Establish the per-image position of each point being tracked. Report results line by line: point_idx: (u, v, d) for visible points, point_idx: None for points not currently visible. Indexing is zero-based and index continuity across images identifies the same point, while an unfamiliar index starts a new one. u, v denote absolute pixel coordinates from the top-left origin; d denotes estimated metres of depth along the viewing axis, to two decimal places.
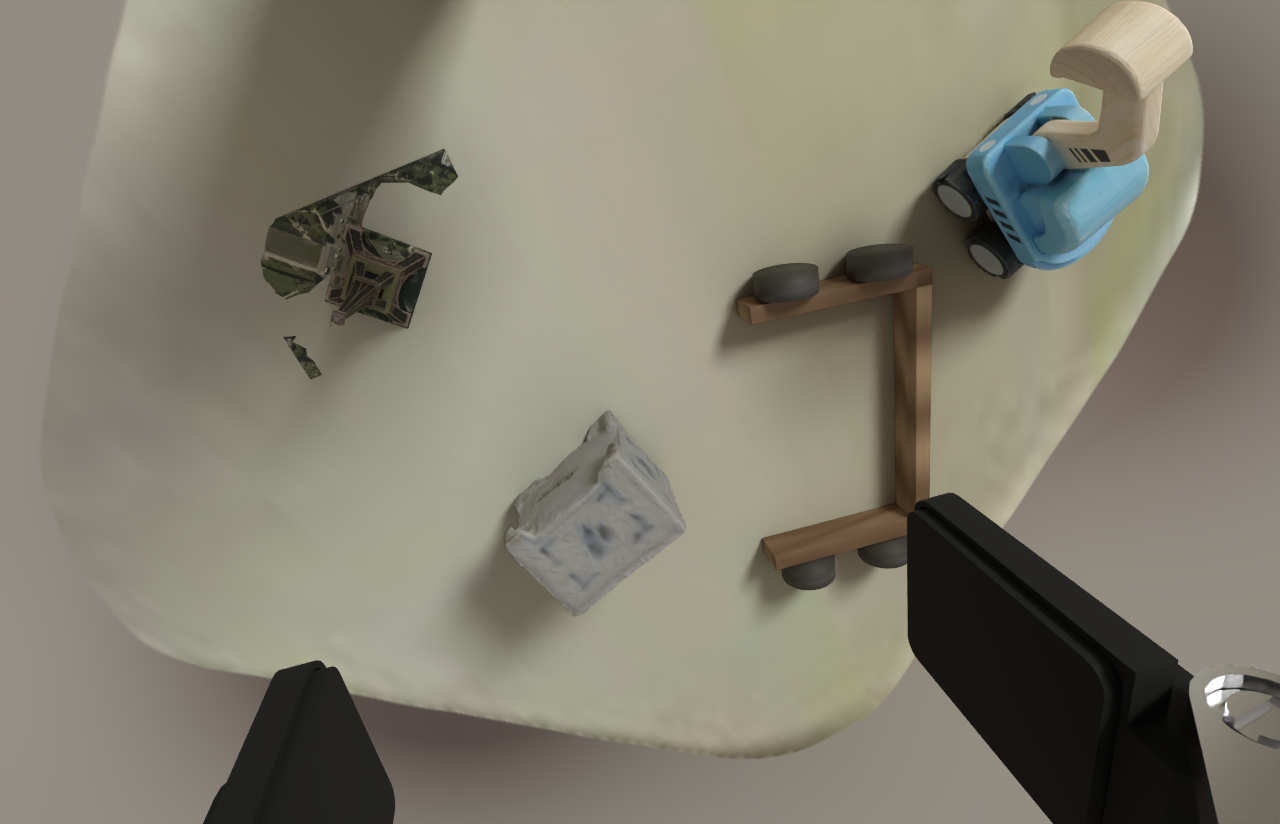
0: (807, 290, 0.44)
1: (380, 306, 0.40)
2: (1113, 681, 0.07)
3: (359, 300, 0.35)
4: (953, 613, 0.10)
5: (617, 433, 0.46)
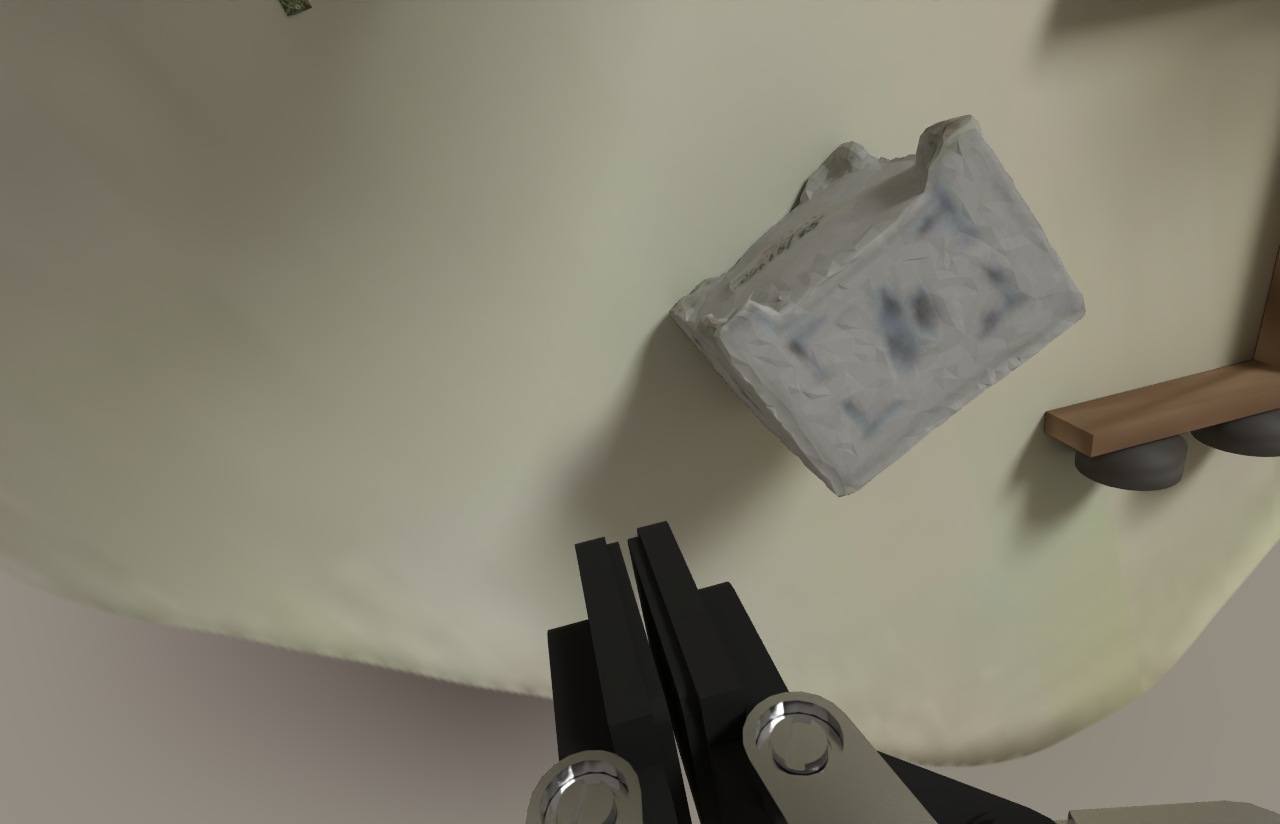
0: None
1: None
2: (692, 706, 0.08)
3: None
4: (652, 636, 0.10)
5: (885, 162, 0.24)
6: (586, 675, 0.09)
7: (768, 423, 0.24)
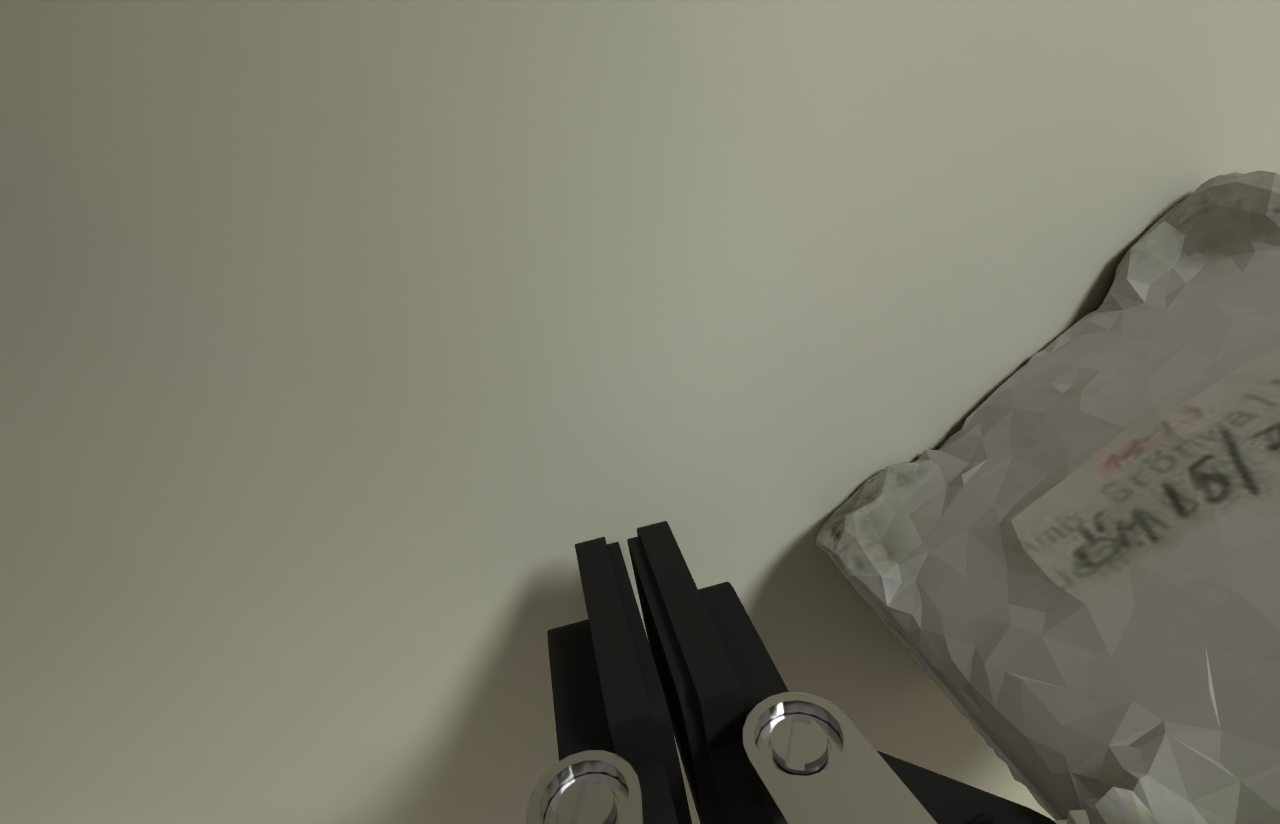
0: None
1: None
2: (692, 706, 0.08)
3: None
4: (652, 636, 0.10)
5: None
6: (585, 675, 0.09)
7: None
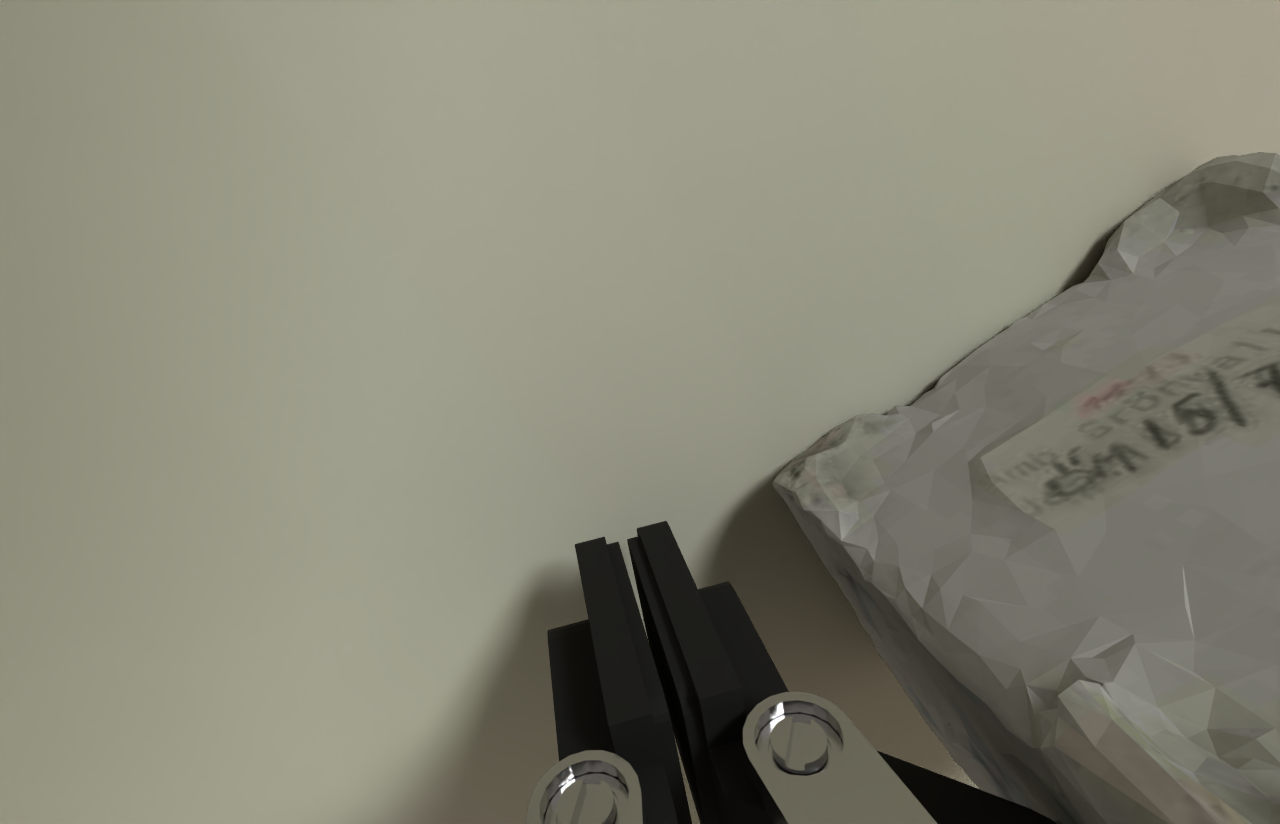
0: None
1: None
2: (692, 706, 0.08)
3: None
4: (652, 635, 0.10)
5: None
6: (585, 674, 0.09)
7: None
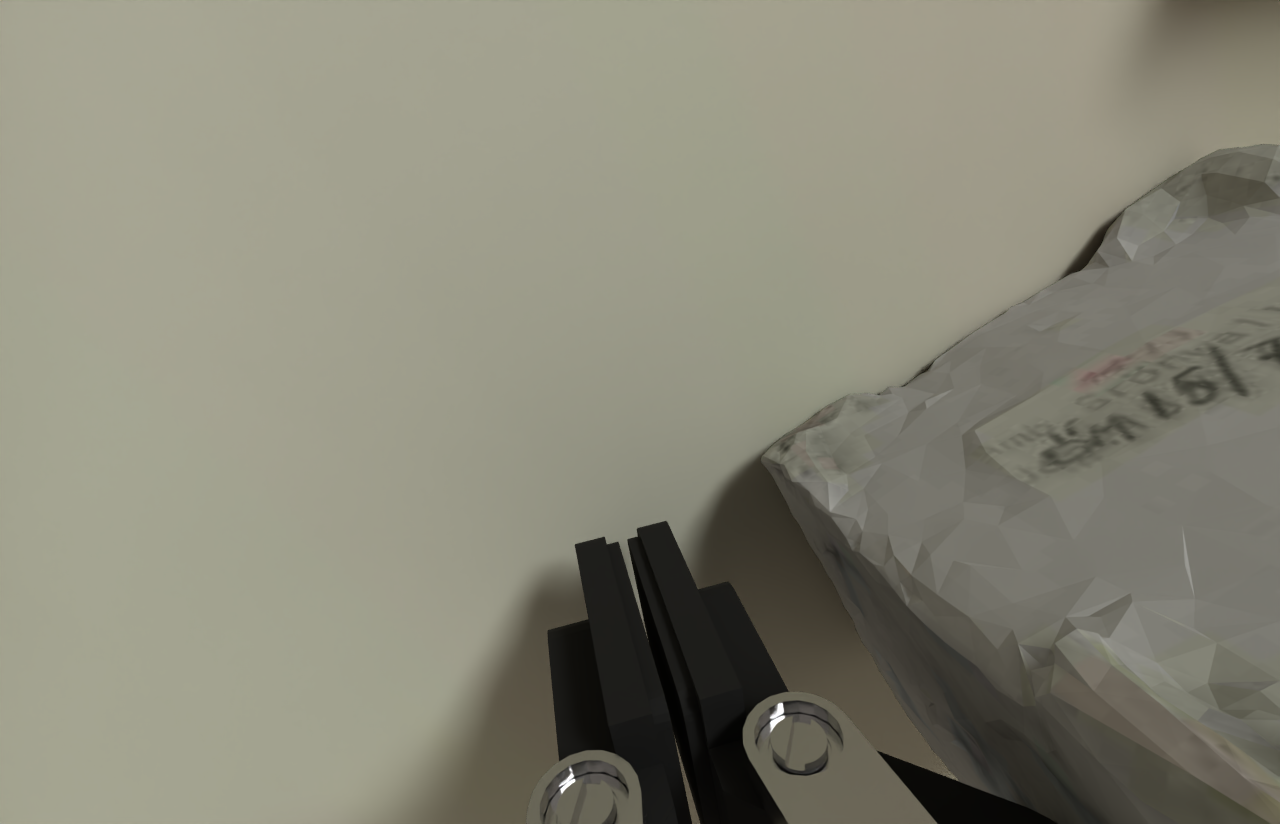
0: None
1: None
2: (693, 706, 0.08)
3: None
4: (652, 636, 0.10)
5: None
6: (585, 675, 0.09)
7: None
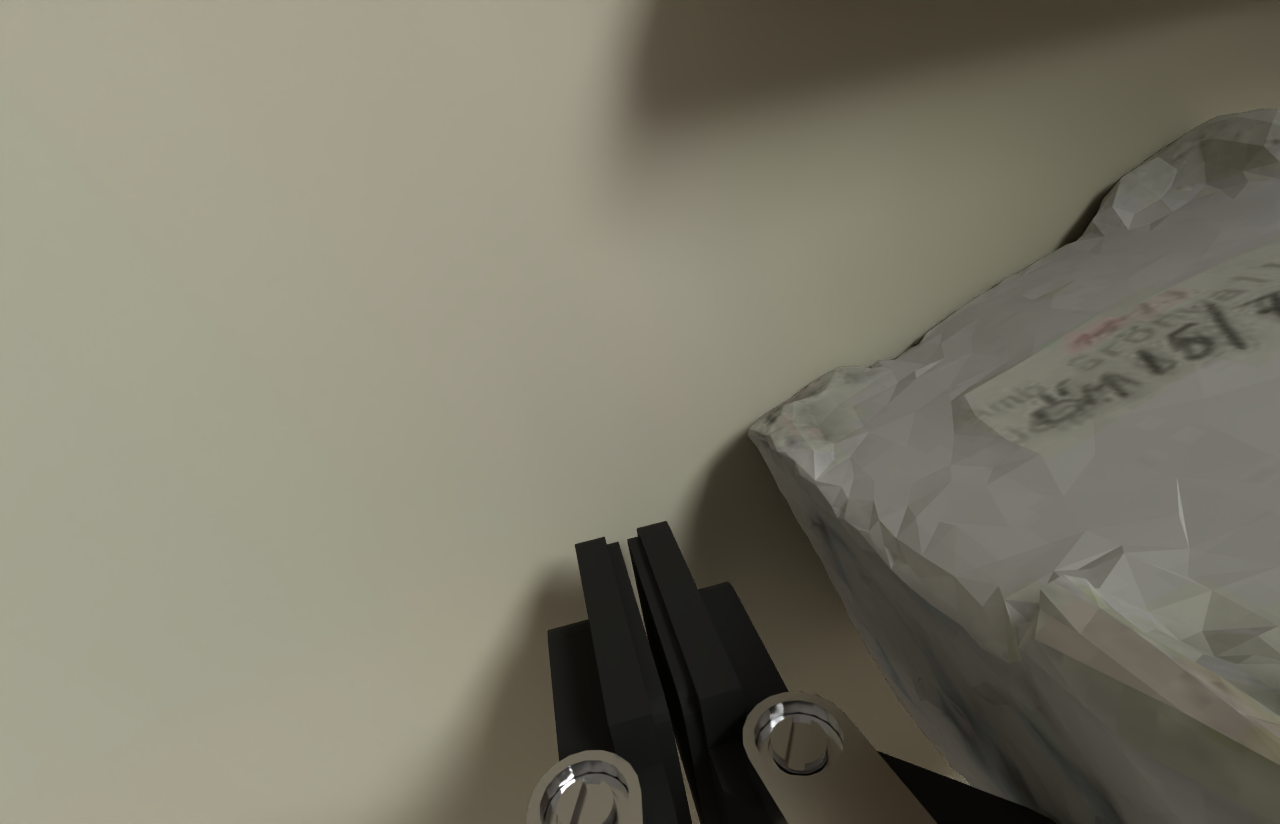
0: None
1: None
2: (692, 706, 0.08)
3: None
4: (652, 636, 0.10)
5: None
6: (585, 674, 0.09)
7: None
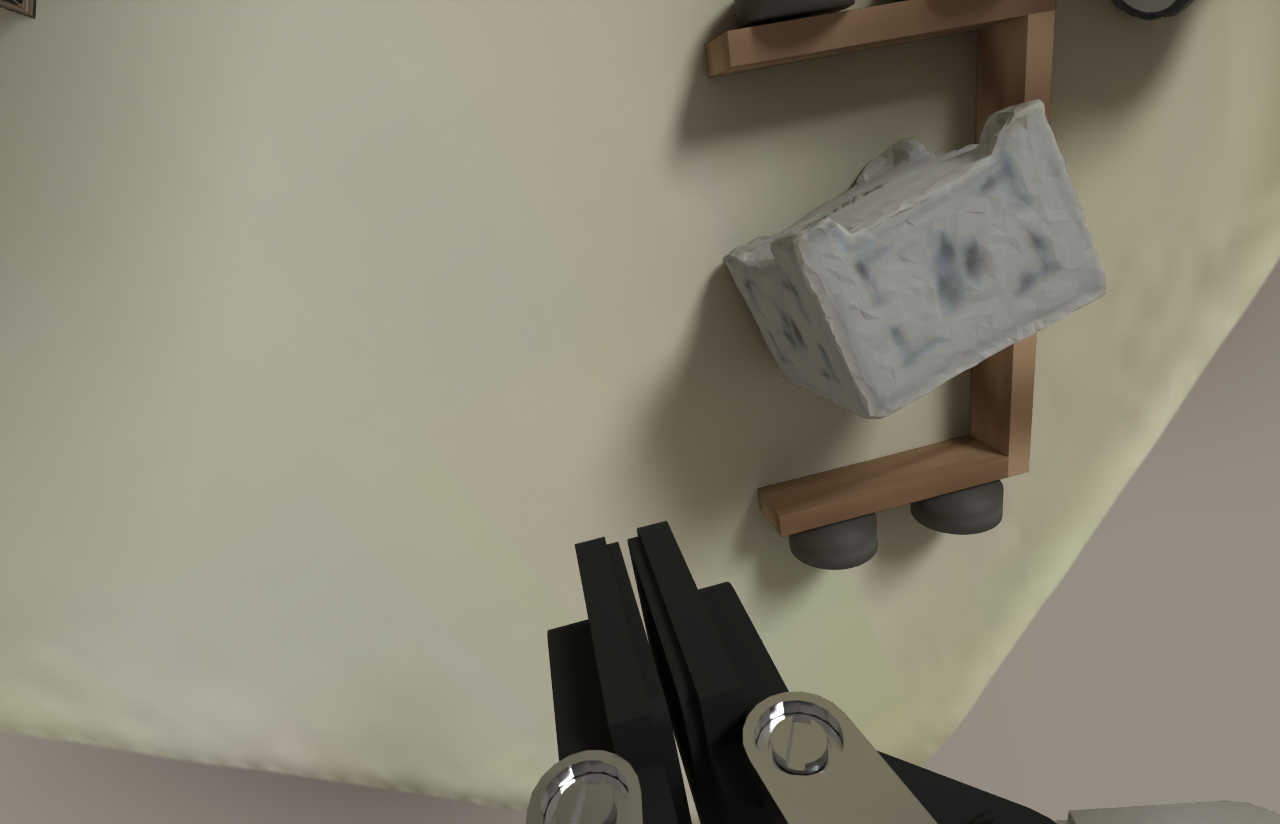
0: None
1: None
2: (693, 706, 0.08)
3: None
4: (652, 635, 0.10)
5: (941, 154, 0.27)
6: (585, 674, 0.09)
7: (804, 363, 0.26)
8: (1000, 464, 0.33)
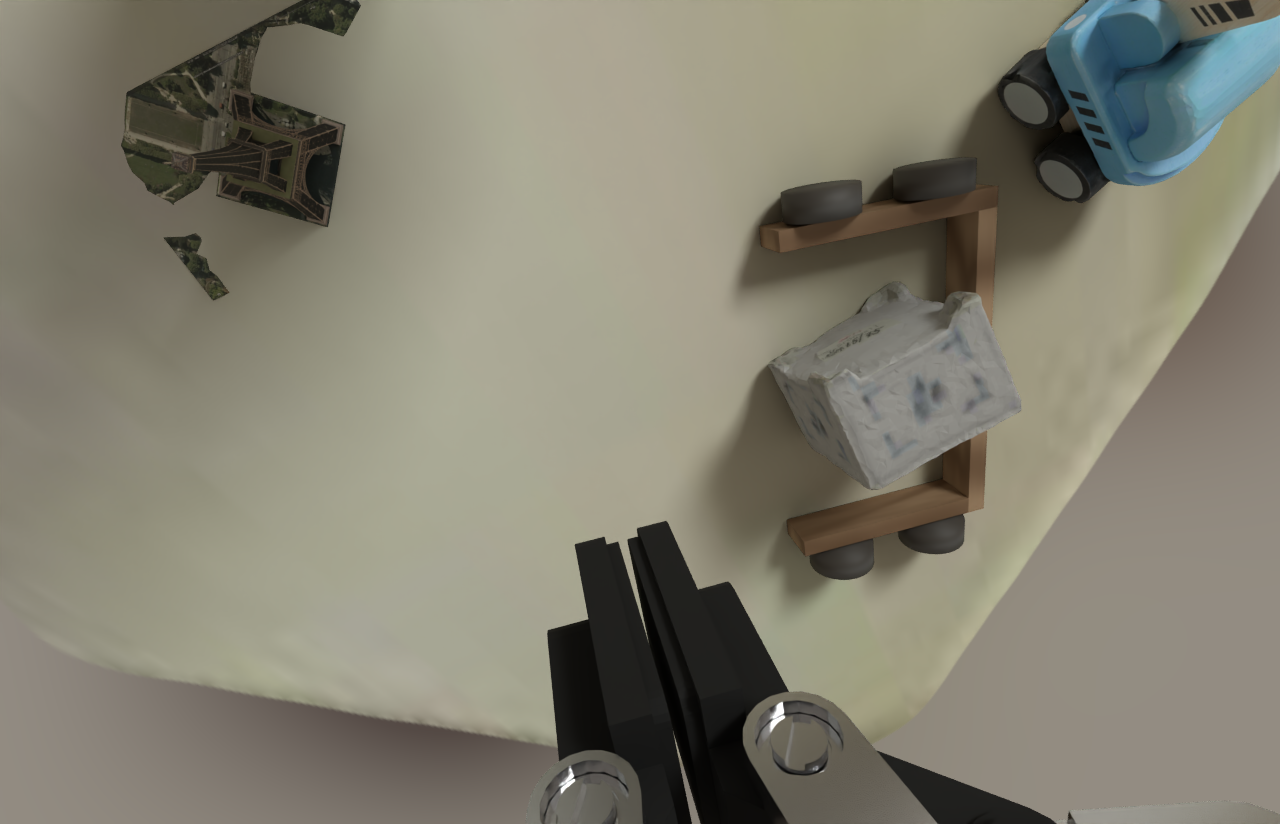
0: (849, 207, 0.35)
1: (277, 186, 0.31)
2: (692, 706, 0.08)
3: (228, 156, 0.26)
4: (652, 636, 0.10)
5: (920, 300, 0.40)
6: (585, 674, 0.09)
7: (826, 444, 0.39)
8: (962, 503, 0.46)
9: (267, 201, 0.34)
